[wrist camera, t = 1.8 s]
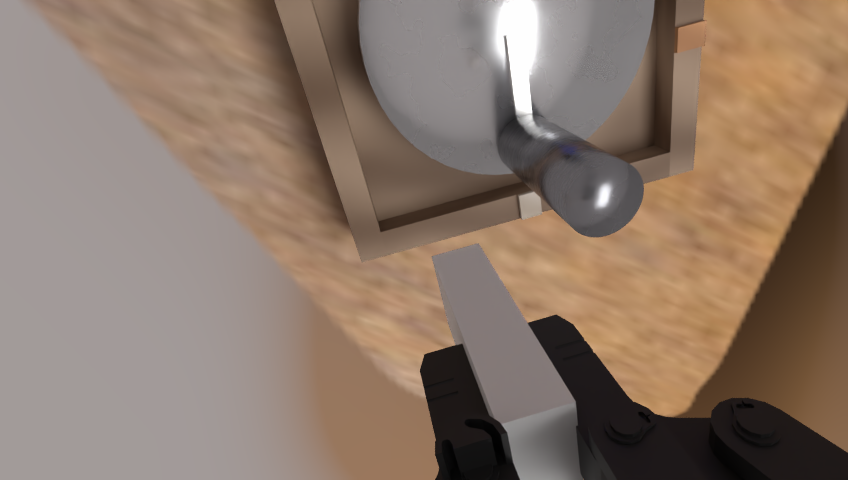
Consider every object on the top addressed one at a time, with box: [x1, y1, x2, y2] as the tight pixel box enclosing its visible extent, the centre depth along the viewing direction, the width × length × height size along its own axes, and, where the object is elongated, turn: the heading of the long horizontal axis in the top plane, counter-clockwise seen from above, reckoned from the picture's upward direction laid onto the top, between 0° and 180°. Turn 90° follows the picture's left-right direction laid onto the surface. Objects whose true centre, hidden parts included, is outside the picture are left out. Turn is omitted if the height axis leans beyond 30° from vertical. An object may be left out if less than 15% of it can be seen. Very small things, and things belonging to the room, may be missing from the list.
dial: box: [357, 0, 655, 237], centre depth 19 cm, size 14×14×10 cm
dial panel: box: [274, 0, 707, 262], centre depth 23 cm, size 20×20×4 cm
